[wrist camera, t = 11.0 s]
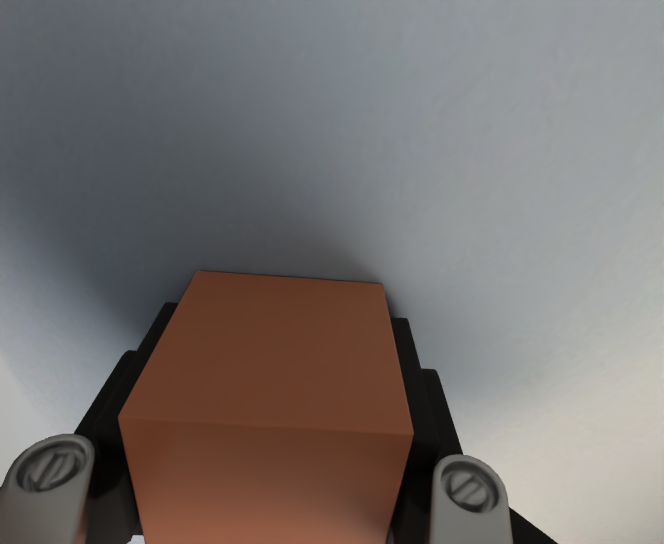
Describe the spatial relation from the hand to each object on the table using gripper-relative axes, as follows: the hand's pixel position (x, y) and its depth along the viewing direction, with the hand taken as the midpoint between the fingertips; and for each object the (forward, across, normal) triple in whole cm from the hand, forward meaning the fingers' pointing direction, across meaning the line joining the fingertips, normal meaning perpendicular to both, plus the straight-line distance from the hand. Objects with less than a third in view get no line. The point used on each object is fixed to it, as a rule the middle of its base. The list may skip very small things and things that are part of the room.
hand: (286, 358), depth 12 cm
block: (0, 0, 0) cm, 0 cm away
